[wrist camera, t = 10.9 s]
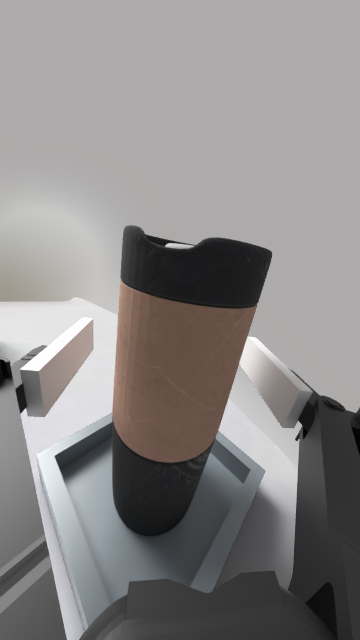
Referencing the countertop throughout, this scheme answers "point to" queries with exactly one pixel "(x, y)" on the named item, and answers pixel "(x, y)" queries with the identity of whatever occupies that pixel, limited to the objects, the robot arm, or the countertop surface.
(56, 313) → the countertop surface
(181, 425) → the travel mug
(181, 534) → the tray
